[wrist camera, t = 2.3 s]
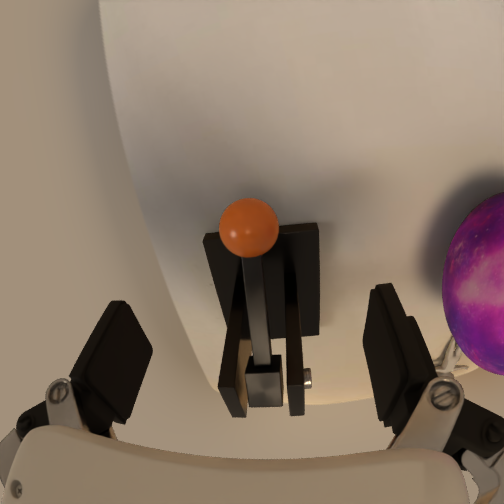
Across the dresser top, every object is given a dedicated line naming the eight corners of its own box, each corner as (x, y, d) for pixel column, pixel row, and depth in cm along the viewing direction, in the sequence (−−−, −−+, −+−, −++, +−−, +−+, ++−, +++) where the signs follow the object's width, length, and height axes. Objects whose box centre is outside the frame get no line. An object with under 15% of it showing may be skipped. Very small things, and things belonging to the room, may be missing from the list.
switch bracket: (205, 233, 23) (162, 347, 14) (316, 222, 22) (346, 339, 12) (232, 332, 30) (217, 434, 20) (317, 326, 29) (329, 431, 19)
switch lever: (223, 202, 18) (208, 200, 15) (276, 196, 18) (274, 193, 14) (245, 384, 20) (238, 412, 16) (292, 382, 19) (292, 411, 16)
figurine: (488, 343, 26) (457, 410, 29) (473, 324, 31) (447, 388, 34) (440, 346, 27) (412, 414, 31) (428, 325, 32) (405, 391, 36)
